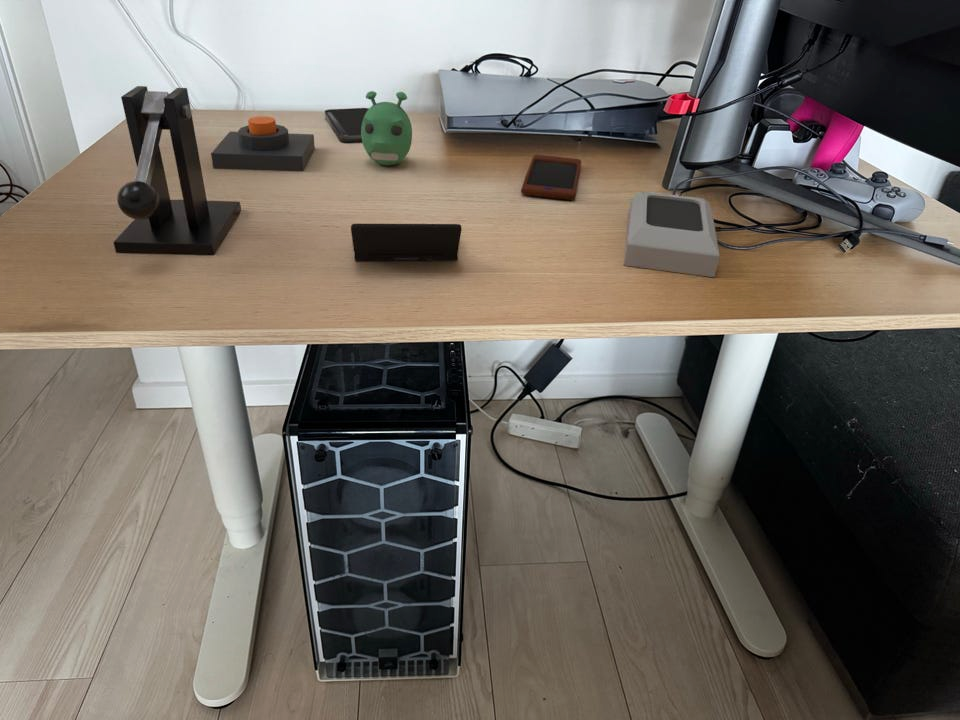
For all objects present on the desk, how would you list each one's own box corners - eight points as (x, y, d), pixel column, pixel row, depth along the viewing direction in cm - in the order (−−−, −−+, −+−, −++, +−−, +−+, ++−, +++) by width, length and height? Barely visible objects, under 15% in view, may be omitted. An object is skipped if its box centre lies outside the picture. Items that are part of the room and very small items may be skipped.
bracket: (214, 255, 74) (187, 110, 66) (115, 252, 73) (76, 105, 65) (241, 210, 84) (221, 80, 75) (155, 208, 83) (125, 76, 75)
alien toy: (356, 172, 97) (352, 96, 91) (368, 154, 103) (365, 83, 97) (407, 176, 96) (406, 100, 91) (416, 158, 103) (415, 86, 97)
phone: (340, 136, 106) (323, 109, 117) (341, 143, 106) (324, 116, 118) (392, 133, 108) (370, 107, 120) (392, 140, 109) (370, 114, 120)
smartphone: (520, 188, 91) (533, 153, 104) (520, 195, 92) (532, 159, 104) (575, 194, 90) (581, 158, 103) (574, 201, 91) (580, 164, 103)
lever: (161, 227, 68) (147, 205, 65) (122, 226, 68) (107, 204, 64) (184, 113, 74) (173, 87, 70) (149, 112, 73) (135, 85, 70)
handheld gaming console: (447, 216, 81) (452, 167, 71) (463, 272, 79) (470, 230, 69) (348, 236, 79) (339, 189, 70) (362, 294, 77) (354, 253, 68)
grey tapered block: (629, 233, 74) (633, 185, 87) (623, 265, 76) (628, 214, 89) (722, 245, 73) (713, 195, 85) (714, 277, 75) (706, 223, 87)
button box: (213, 169, 95) (208, 139, 93) (231, 146, 103) (227, 118, 101) (303, 172, 96) (300, 142, 93) (314, 149, 104) (312, 121, 102)
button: (246, 136, 96) (245, 123, 95) (252, 128, 99) (251, 115, 98) (273, 137, 96) (272, 124, 95) (279, 129, 99) (277, 116, 98)
